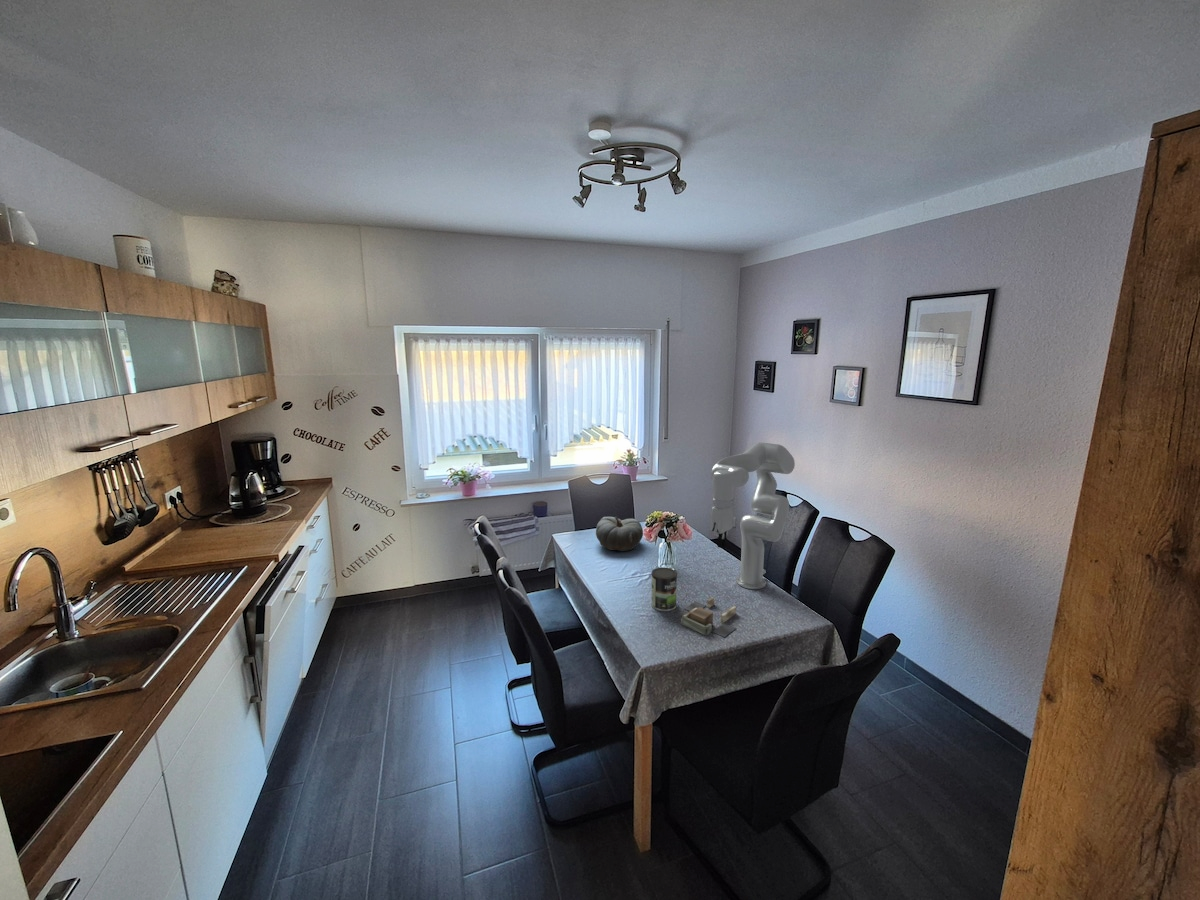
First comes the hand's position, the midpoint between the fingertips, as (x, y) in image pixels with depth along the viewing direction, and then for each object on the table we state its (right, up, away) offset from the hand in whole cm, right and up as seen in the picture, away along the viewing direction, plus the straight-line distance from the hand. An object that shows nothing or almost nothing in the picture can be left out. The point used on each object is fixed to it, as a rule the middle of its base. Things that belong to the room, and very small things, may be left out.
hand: (722, 547), depth 186 cm
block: (-9, -28, -5) cm, 30 cm away
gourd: (-37, -14, +70) cm, 80 cm away
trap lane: (-5, -27, -1) cm, 28 cm away
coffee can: (-22, -26, +9) cm, 35 cm away
